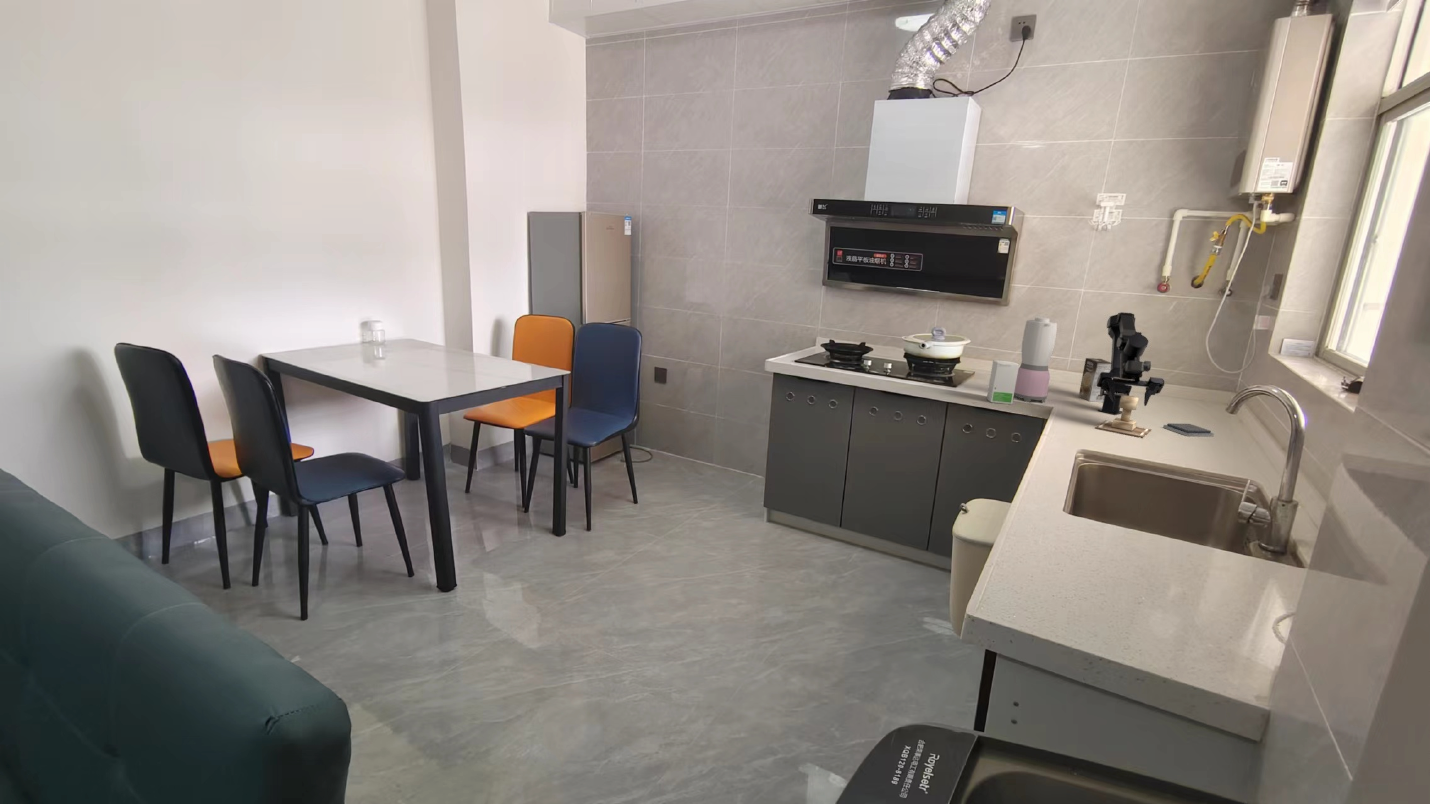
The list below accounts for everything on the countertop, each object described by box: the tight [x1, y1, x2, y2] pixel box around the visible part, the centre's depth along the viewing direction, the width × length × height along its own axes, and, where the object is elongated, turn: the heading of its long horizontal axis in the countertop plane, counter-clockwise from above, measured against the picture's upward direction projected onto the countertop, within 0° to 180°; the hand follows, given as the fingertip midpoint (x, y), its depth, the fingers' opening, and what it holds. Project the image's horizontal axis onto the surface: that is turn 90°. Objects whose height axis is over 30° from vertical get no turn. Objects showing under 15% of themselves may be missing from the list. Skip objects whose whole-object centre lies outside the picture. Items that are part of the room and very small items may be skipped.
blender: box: [1013, 316, 1058, 403], centre depth 262 cm, size 16×12×32 cm
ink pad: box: [1163, 422, 1215, 437], centre depth 227 cm, size 10×10×2 cm
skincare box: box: [986, 359, 1020, 405], centre depth 255 cm, size 8×7×16 cm
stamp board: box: [1094, 420, 1152, 439], centre depth 225 cm, size 14×14×1 cm
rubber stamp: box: [1111, 395, 1140, 432], centre depth 224 cm, size 6×6×11 cm
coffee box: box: [1078, 357, 1111, 403], centre depth 269 cm, size 9×6×16 cm
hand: (1129, 403), depth 222 cm, fingers open, 9 cm apart
